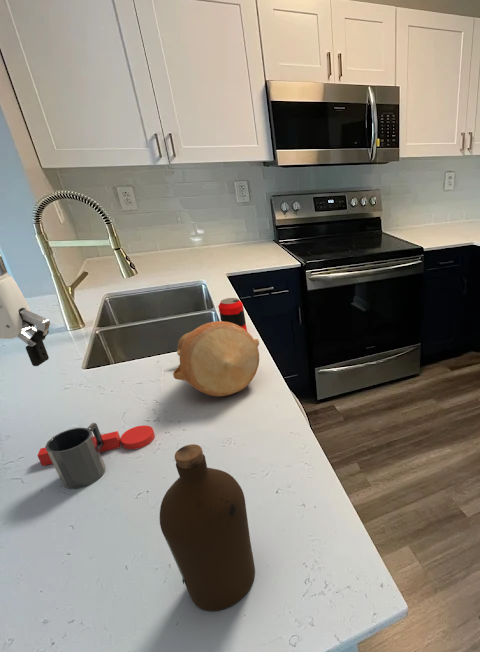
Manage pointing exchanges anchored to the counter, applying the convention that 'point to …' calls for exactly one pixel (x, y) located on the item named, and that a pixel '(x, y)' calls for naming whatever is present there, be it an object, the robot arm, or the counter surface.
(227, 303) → the soda can
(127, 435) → the spoon
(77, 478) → the mug
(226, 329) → the jug
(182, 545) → the olive oil
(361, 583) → the counter surface
